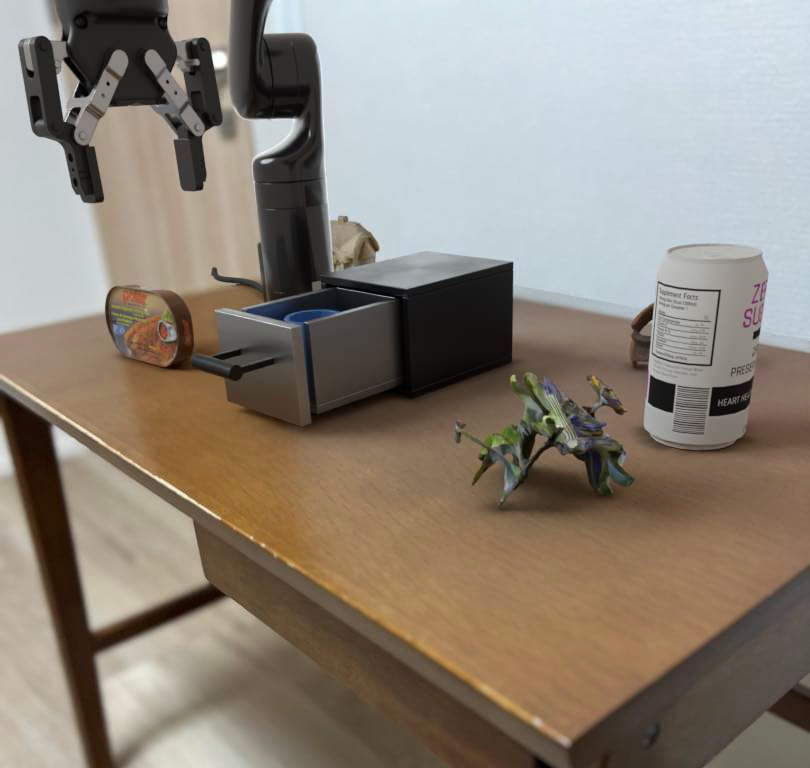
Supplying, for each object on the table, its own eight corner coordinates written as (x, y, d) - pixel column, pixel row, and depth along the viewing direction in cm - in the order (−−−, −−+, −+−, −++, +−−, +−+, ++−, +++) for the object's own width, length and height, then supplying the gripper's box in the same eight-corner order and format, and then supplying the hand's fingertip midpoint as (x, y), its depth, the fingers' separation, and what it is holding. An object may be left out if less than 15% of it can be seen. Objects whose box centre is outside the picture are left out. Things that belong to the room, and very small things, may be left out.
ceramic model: (291, 285, 137) (284, 218, 133) (340, 273, 145) (335, 208, 140) (357, 295, 129) (351, 223, 124) (406, 281, 136) (402, 213, 132)
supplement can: (633, 419, 78) (648, 244, 71) (728, 417, 77) (751, 240, 71) (653, 454, 71) (672, 263, 64) (757, 451, 70) (787, 258, 63)
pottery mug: (745, 382, 87) (720, 317, 82) (653, 420, 91) (624, 359, 86) (720, 322, 96) (695, 260, 91) (637, 359, 99) (609, 300, 95)
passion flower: (591, 557, 67) (681, 466, 58) (466, 565, 63) (541, 469, 53) (544, 438, 72) (620, 337, 63) (425, 438, 68) (488, 330, 58)
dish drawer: (256, 443, 75) (243, 340, 71) (183, 415, 82) (167, 321, 78) (415, 386, 86) (412, 295, 82) (339, 366, 94) (332, 282, 90)
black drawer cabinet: (412, 399, 86) (407, 289, 81) (328, 376, 94) (319, 274, 89) (512, 362, 95) (513, 261, 90) (428, 343, 103) (425, 250, 98)
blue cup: (280, 384, 85) (272, 317, 82) (323, 371, 89) (317, 306, 86) (316, 396, 82) (309, 326, 79) (359, 381, 85) (355, 314, 82)
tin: (110, 352, 106) (95, 282, 103) (132, 347, 108) (119, 277, 105) (181, 373, 97) (168, 296, 93) (204, 367, 99) (192, 291, 95)
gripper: (23, -81, 52) (82, 209, 59) (221, -63, 61) (251, 188, 68) (-29, -61, 57) (32, 205, 64) (162, -47, 66) (196, 185, 73)
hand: (145, 196), depth 66 cm, fingers open, 8 cm apart
